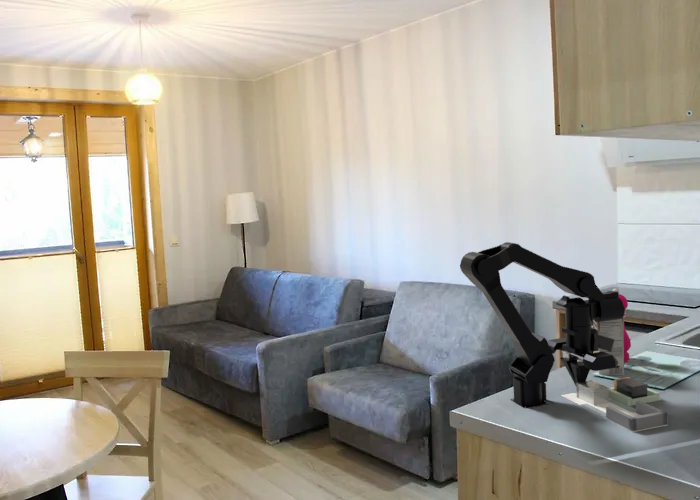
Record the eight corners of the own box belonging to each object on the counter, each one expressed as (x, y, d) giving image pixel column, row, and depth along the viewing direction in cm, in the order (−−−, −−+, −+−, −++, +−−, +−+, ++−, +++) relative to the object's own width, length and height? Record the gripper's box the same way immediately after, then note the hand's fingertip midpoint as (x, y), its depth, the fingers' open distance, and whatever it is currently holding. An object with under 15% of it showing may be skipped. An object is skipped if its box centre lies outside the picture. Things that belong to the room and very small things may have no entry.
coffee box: (592, 366, 171) (591, 308, 169) (617, 366, 169) (616, 307, 168) (599, 376, 162) (597, 315, 160) (625, 377, 160) (624, 315, 159)
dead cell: (593, 405, 141) (593, 390, 140) (576, 397, 146) (576, 382, 146) (608, 402, 142) (608, 387, 141) (591, 394, 148) (590, 380, 147)
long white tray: (632, 434, 125) (632, 419, 125) (560, 397, 148) (560, 384, 148) (668, 427, 128) (668, 412, 127) (592, 392, 151) (591, 379, 150)
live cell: (632, 402, 141) (632, 386, 141) (614, 394, 147) (614, 379, 147) (647, 399, 142) (647, 384, 142) (628, 391, 148) (628, 377, 148)
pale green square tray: (627, 408, 139) (627, 399, 139) (601, 395, 148) (601, 387, 148) (661, 402, 142) (661, 393, 141) (633, 390, 150) (633, 381, 150)
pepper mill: (628, 364, 171) (627, 291, 168) (600, 361, 174) (599, 290, 172) (632, 357, 177) (631, 286, 175) (605, 354, 180) (604, 285, 178)
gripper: (636, 327, 140) (637, 395, 142) (582, 312, 158) (583, 373, 159) (593, 334, 137) (595, 403, 138) (543, 318, 155) (545, 379, 156)
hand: (580, 388), depth 148 cm, fingers closed
